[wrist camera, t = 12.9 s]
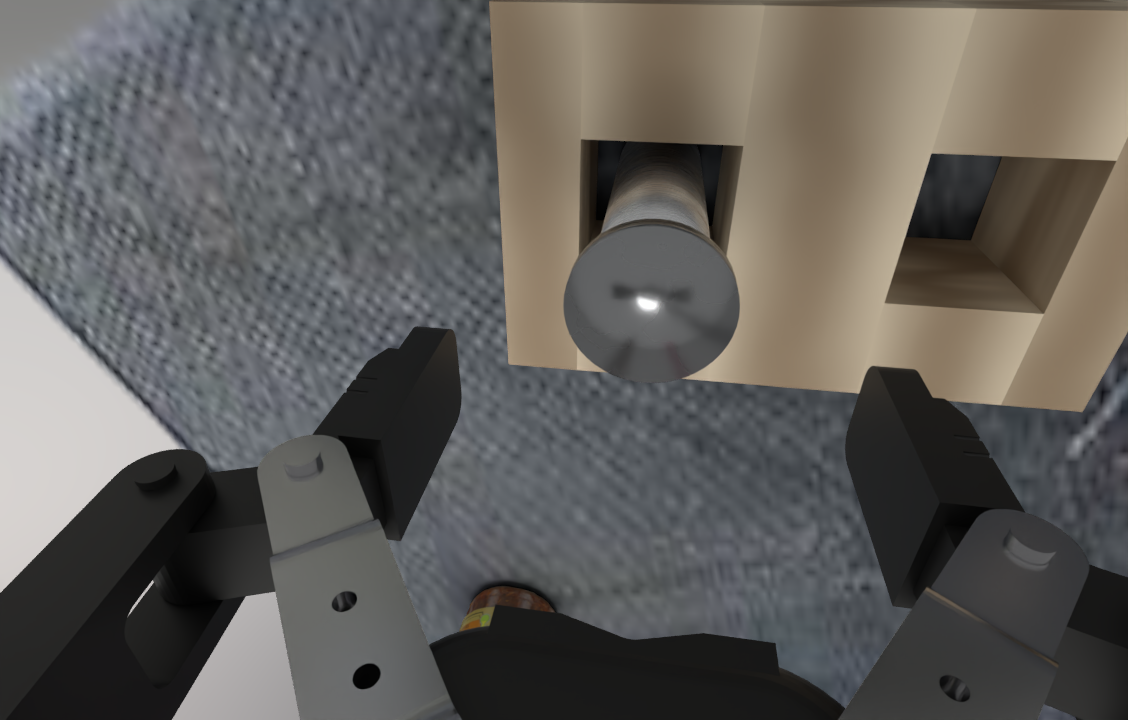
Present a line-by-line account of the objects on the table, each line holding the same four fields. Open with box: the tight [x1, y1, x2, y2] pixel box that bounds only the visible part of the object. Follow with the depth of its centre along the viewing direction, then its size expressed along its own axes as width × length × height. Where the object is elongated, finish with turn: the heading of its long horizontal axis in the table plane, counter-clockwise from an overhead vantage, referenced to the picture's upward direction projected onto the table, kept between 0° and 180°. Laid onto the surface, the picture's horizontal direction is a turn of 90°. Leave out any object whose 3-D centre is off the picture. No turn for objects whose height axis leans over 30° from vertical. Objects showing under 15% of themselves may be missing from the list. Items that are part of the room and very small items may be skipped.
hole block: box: [489, 0, 1128, 412], centre depth 22 cm, size 20×12×6 cm, turn 90°
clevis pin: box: [563, 141, 740, 383], centre depth 20 cm, size 4×4×12 cm
